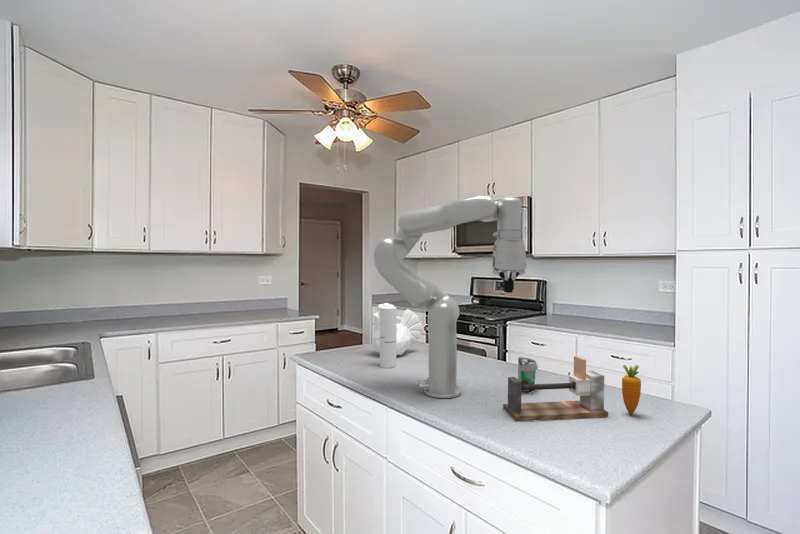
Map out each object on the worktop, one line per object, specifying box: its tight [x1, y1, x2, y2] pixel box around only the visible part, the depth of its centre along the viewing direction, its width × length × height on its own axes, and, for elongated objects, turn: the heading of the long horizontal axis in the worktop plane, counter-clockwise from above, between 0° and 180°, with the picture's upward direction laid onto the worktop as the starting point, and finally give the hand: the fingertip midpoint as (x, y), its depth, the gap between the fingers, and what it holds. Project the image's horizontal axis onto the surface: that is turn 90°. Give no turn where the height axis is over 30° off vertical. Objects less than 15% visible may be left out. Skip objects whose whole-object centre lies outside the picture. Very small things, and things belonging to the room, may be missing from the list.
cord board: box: [502, 370, 609, 423], centre depth 123 cm, size 28×10×12 cm, turn 97°
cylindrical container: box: [379, 306, 398, 369], centre depth 176 cm, size 7×7×25 cm
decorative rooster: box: [372, 302, 423, 356], centre depth 197 cm, size 25×16×25 cm, turn 102°
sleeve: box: [568, 355, 590, 397], centre depth 124 cm, size 4×5×11 cm
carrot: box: [621, 364, 642, 416], centre depth 122 cm, size 5×5×15 cm
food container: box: [517, 356, 539, 394], centre depth 145 cm, size 12×6×10 cm, turn 168°
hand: (508, 292), depth 135 cm, fingers closed
